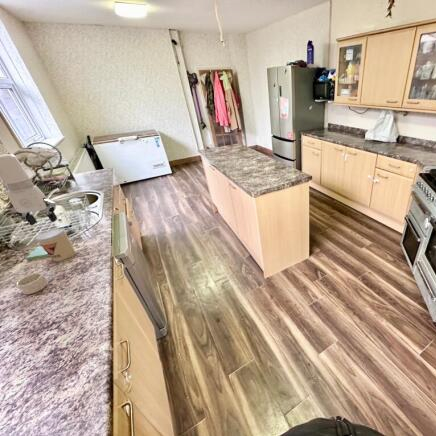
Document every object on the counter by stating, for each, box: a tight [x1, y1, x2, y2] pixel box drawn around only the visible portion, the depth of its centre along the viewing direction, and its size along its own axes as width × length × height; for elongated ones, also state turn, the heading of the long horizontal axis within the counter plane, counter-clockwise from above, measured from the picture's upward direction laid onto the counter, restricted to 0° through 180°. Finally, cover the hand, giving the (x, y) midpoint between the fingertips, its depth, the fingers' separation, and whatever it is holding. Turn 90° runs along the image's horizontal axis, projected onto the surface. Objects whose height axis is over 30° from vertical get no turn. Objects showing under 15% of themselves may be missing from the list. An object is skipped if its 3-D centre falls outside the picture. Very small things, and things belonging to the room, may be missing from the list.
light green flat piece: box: [25, 245, 50, 261], centre depth 108 cm, size 12×10×3 cm
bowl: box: [15, 272, 49, 295], centre depth 87 cm, size 7×7×4 cm
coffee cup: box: [35, 227, 76, 262], centre depth 102 cm, size 9×9×12 cm
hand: (44, 221), depth 105 cm, fingers open, 7 cm apart
